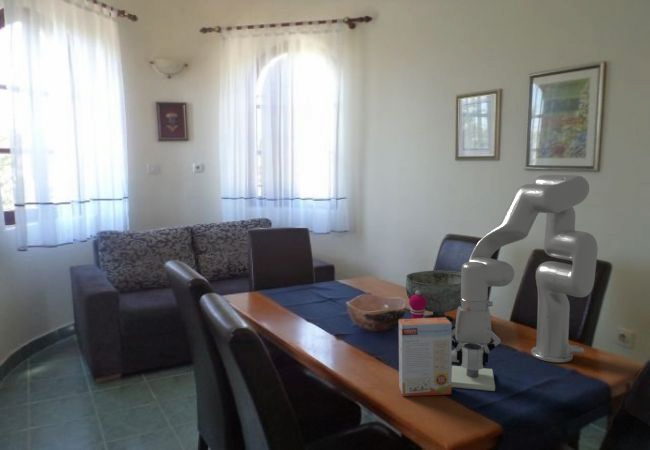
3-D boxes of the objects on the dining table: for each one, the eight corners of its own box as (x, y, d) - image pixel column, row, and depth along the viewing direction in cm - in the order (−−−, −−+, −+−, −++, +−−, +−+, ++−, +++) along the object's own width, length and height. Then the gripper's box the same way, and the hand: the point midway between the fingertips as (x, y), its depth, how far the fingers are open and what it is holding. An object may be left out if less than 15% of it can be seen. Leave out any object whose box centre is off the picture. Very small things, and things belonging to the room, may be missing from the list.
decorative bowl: (472, 336, 185) (472, 282, 183) (402, 332, 191) (401, 281, 190) (471, 317, 210) (470, 270, 209) (409, 314, 217) (408, 269, 215)
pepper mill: (427, 349, 174) (428, 293, 171) (406, 348, 175) (406, 292, 173) (427, 342, 181) (428, 288, 178) (407, 341, 182) (407, 287, 180)
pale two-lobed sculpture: (456, 368, 161) (443, 360, 164) (468, 360, 167) (454, 352, 170) (460, 357, 160) (446, 349, 163) (472, 349, 166) (458, 341, 169)
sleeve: (482, 362, 151) (483, 343, 150) (483, 370, 145) (484, 350, 144) (461, 360, 153) (461, 341, 152) (461, 368, 147) (461, 349, 146)
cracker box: (446, 385, 146) (447, 316, 143) (451, 395, 140) (453, 323, 137) (398, 387, 146) (398, 317, 143) (402, 397, 140) (402, 324, 137)
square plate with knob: (492, 373, 154) (492, 353, 153) (494, 391, 142) (495, 369, 142) (451, 370, 157) (452, 350, 156) (451, 386, 145) (451, 365, 145)
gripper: (503, 302, 148) (501, 361, 150) (443, 299, 152) (442, 356, 155) (506, 310, 141) (504, 371, 143) (443, 306, 145) (441, 365, 147)
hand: (472, 362), depth 149 cm, fingers closed on sleeve, 6 cm apart
